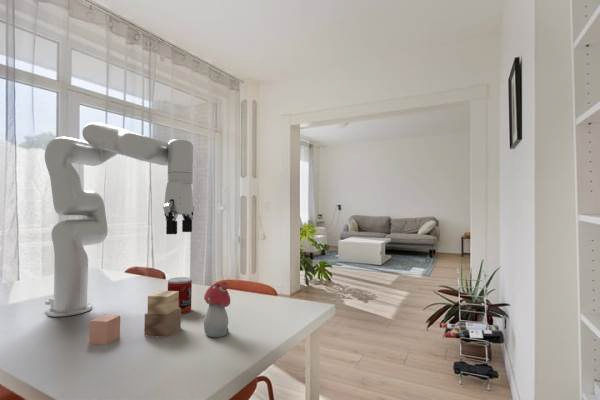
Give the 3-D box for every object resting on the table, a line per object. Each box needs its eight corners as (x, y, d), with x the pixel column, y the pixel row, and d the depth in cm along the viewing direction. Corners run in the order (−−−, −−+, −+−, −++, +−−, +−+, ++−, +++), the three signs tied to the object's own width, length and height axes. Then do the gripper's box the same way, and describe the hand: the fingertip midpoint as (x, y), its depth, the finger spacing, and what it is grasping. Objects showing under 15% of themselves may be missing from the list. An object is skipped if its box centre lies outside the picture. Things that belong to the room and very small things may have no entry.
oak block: (147, 313, 89) (147, 295, 89) (159, 307, 95) (159, 290, 95) (167, 314, 88) (167, 296, 88) (178, 308, 94) (178, 291, 94)
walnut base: (144, 335, 88) (144, 314, 89) (158, 326, 95) (159, 306, 96) (167, 337, 87) (168, 315, 88) (180, 328, 94) (180, 307, 95)
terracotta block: (89, 343, 83) (89, 320, 83) (103, 336, 88) (104, 314, 88) (106, 344, 82) (106, 321, 83) (119, 337, 87) (120, 315, 88)
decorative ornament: (233, 336, 88) (234, 282, 88) (210, 342, 84) (210, 285, 85) (222, 326, 96) (222, 276, 96) (200, 330, 92) (200, 279, 93)
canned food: (183, 315, 105) (184, 282, 106) (162, 313, 107) (162, 281, 107) (195, 308, 113) (196, 277, 113) (175, 307, 115) (176, 276, 115)
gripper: (182, 181, 110) (181, 231, 109) (153, 176, 93) (152, 235, 92) (203, 181, 109) (202, 231, 108) (177, 176, 92) (177, 235, 91)
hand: (179, 233), depth 100 cm, fingers open, 9 cm apart
